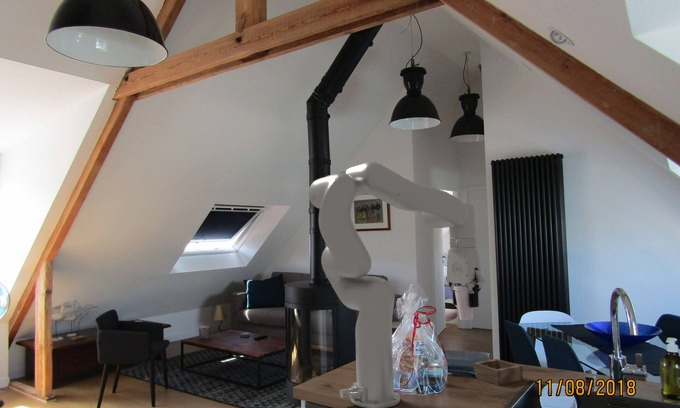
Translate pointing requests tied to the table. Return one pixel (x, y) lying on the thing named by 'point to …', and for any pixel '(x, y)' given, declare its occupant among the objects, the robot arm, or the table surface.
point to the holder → (498, 371)
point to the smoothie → (463, 302)
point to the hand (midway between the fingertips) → (465, 305)
